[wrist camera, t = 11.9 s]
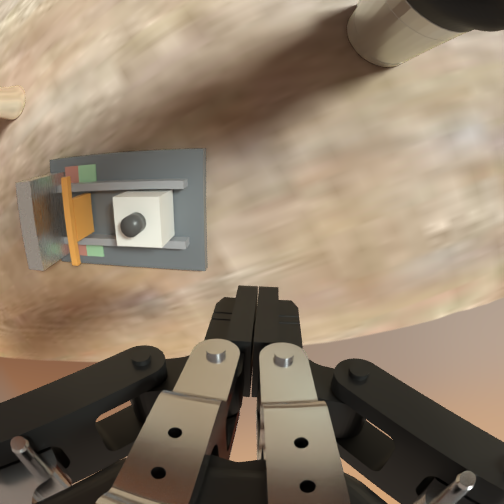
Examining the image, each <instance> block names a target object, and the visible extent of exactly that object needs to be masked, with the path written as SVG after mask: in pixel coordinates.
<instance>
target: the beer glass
mask: <svg viewBox="0 0 504 504" xmlns="http://www.w3.org/2000/svg"><path fill="white" fill-rule="evenodd" d="M25 99H26V96H25V91H24V89H23V88H22V87H21V86H19V85H15V86H10V87H1V86H0V118H3V119H7V120H14V119H16V118H17V117H18V116H19V115H20V114H21V112H22V111H23V108H24V105H25Z"/></svg>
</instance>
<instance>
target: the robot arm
mask: <svg viewBox="0 0 504 504" xmlns="http://www.w3.org/2000/svg"><path fill="white" fill-rule="evenodd" d="M474 29H475V30H480V31H500V30H504V0H359V2H358V3H357V8H356V9H355V11H354V12H353V14H352V15H351V17H350V19H349V20H348V24H347V34H348V38H349V41H350V43H351V45H352V46H353V48H354V49H355V50H356V52H357V53H358V54H359V55H360V56H361V57H363V58H364V59H366V60H367V61H369V62H371V63H373V64H375V65H378V66H382V67H394V66H397V65H400V64H402V63H404V62H406V61H408V60H410V59H412V58H414V57H416V56H418V55H420V54H422V53H424V52H426V51H428V50H430V49H432V48H434V47H436V46H438V45H441V44H443V43H445V42H447V41H449V40H451V39H453V38H456V37H457V36H460V35H462V34H464V33H466V32H469V31H472V30H474ZM257 296H258V304H257ZM252 368H253V374H252ZM251 377H252V397H257V410H256V429H257V460H254V461H246V462H234V461H230V460H229V458H230V453H231V449H232V444H233V441H234V437H235V432H236V428H237V424H238V420H239V416H240V408H241V406H242V399H243V396H245V397H249V396H250V388H251ZM129 400H130V401H131V404H132V405H131V406H129V407H127V408H125V409H123V410H121V411H119V412H117V413H115V414H113V415H111V416H109V417H107V418H105V419H103V420H101V421H98V422H96V419H97V418H98V417H99V416H100V415H101V414H103V413H105V412H107V411H109V410H111V409H113V408H115V407H117V406H119V405H121V404H123V403H125V402H127V401H129ZM366 419H367V420H368V421H370V422H371V423H372V424H374V425H375V426H377V427H378V428H379V429H381V430H382V431H384V432H385V433H386V434H388V435H389V436H390V437H391V438H392V439H393V440H392V439H391V438H389V437H388V436H387V435H385V434H384V433H382V432H381V431H379V430H378V429H377V428H375V427H374V426H373V425H371V424H370V423H369V422H367V421H366ZM126 456H127V458H125V457H126ZM340 457H341V458H342V459H343V460H344V461H346V462H347V463H348V464H349V465H351V466H352V467H353V468H354V469H356V470H357V471H358V472H359V473H361V474H362V475H364V476H365V477H366V478H367V479H368V480H370V481H371V482H372V483H373V484H375V485H376V486H377V487H379V488H380V489H381V490H383V491H384V492H386V493H387V494H388V495H390V496H391V497H392V498H394V499H395V500H397V501H398V502H399V503H401V504H504V442H502V441H501V440H499V439H497V438H495V437H494V436H492V435H490V434H488V433H487V432H485V431H483V430H481V429H480V428H478V427H476V426H474V425H473V424H471V423H470V422H468V421H466V420H464V419H463V418H461V417H459V416H458V415H456V414H454V413H453V412H451V411H449V410H447V409H446V408H444V407H443V406H441V405H439V404H438V403H436V402H434V401H433V400H431V399H429V398H428V397H426V396H424V395H423V394H421V393H419V392H418V391H416V390H415V389H413V388H411V387H410V386H408V385H406V384H405V383H403V382H402V381H400V380H398V379H396V378H395V377H394V376H392V375H390V374H389V373H387V372H386V371H384V370H382V369H381V368H379V367H378V366H376V365H374V364H373V363H371V362H368V361H366V360H363V359H347V360H344V361H342V362H340V363H339V364H338V365H337V366H336V367H335V369H333V368H329V367H325V366H321V365H318V364H316V363H314V362H312V361H311V360H309V359H308V357H307V354H306V352H305V351H304V350H303V348H302V338H301V329H300V321H299V312H298V307H297V306H296V305H295V304H294V303H293V302H292V301H289V300H278V287H260V286H259V294H258V286H240V285H239V286H238V290H237V294H236V298H228V297H224V298H223V299H221V300H220V301H219V302H218V303H217V304H216V306H215V309H214V313H213V315H212V320H211V321H210V324H209V327H208V330H207V334H206V337H205V340H204V341H202V342H200V343H198V344H197V345H196V346H195V347H194V348H193V350H192V352H191V354H190V355H189V356H186V357H181V358H172V359H165V356H164V354H163V352H162V351H161V350H159V349H158V348H156V347H153V346H145V345H144V346H136V347H132V348H130V349H128V350H125V351H123V352H121V353H119V354H116V355H114V356H112V357H110V358H107V359H105V360H103V361H101V362H98V363H96V364H94V365H92V366H89V367H87V368H85V369H82V370H80V371H78V372H75V373H73V374H71V375H68V376H66V377H63V378H61V379H59V380H57V381H54V382H52V383H50V384H47V385H44V386H42V387H39V388H37V389H35V390H32V391H30V392H27V393H25V394H22V395H20V396H17V397H15V398H12V399H10V400H7V401H5V402H2V403H0V504H387V503H386V502H385V501H384V500H382V499H381V498H380V497H379V496H378V495H376V494H375V493H374V492H373V491H371V490H370V489H369V488H368V487H366V485H364V484H363V483H362V482H360V481H358V480H357V479H356V478H354V477H352V476H350V475H348V474H346V473H344V472H343V468H342V464H341V460H340ZM123 458H124V459H123ZM98 471H99V472H98ZM96 472H97V473H96ZM94 473H95V474H94ZM92 474H93V475H92ZM90 475H91V476H90ZM88 476H89V477H88ZM86 477H88V478H86ZM84 478H86V479H84ZM81 479H84V480H82V481H80V482H78V483H76V484H74V485H72V484H73V483H75V482H77V481H79V480H81Z"/></svg>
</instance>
